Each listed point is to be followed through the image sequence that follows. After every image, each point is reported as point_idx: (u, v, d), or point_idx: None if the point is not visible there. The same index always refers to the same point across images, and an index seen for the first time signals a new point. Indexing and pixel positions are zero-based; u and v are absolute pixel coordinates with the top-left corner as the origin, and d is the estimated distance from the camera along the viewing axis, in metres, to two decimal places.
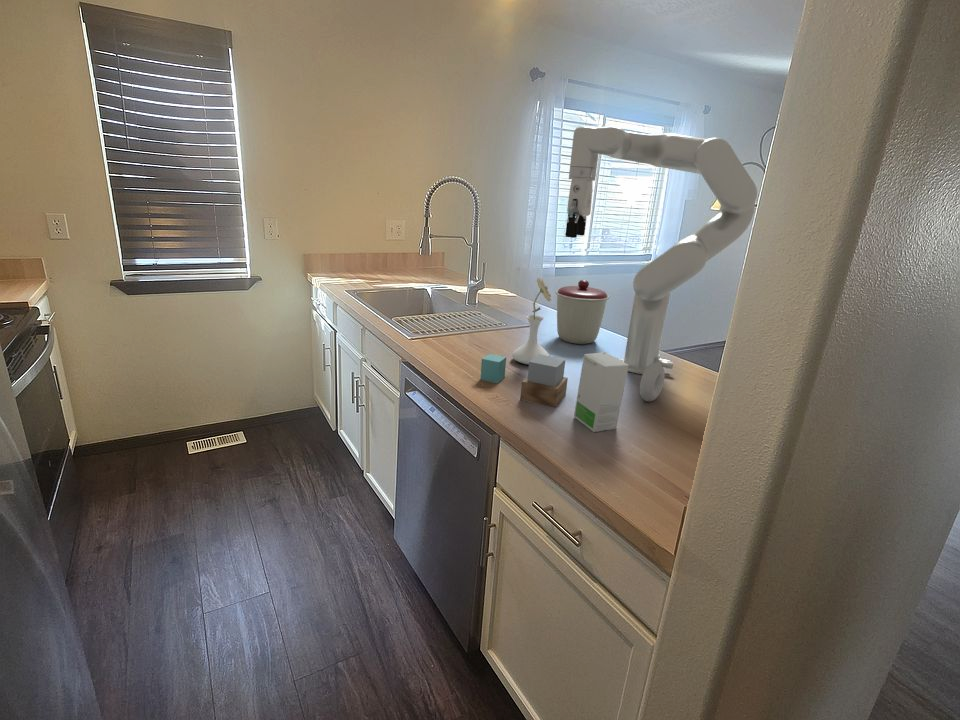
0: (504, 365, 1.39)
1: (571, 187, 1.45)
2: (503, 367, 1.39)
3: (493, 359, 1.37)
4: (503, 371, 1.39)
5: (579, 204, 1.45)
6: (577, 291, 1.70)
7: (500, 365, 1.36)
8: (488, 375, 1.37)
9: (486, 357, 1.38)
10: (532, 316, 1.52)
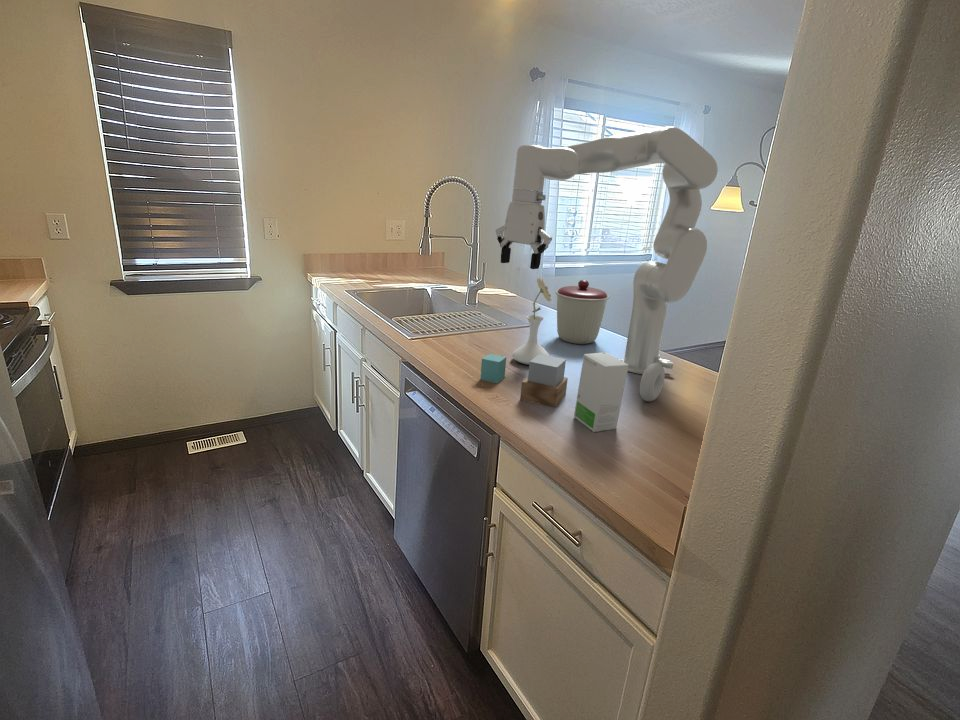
0: (504, 365, 1.39)
1: (536, 214, 1.28)
2: (503, 367, 1.39)
3: (493, 359, 1.37)
4: (503, 371, 1.39)
5: None
6: (577, 291, 1.70)
7: (500, 365, 1.36)
8: (488, 375, 1.37)
9: (486, 357, 1.38)
10: (532, 316, 1.52)
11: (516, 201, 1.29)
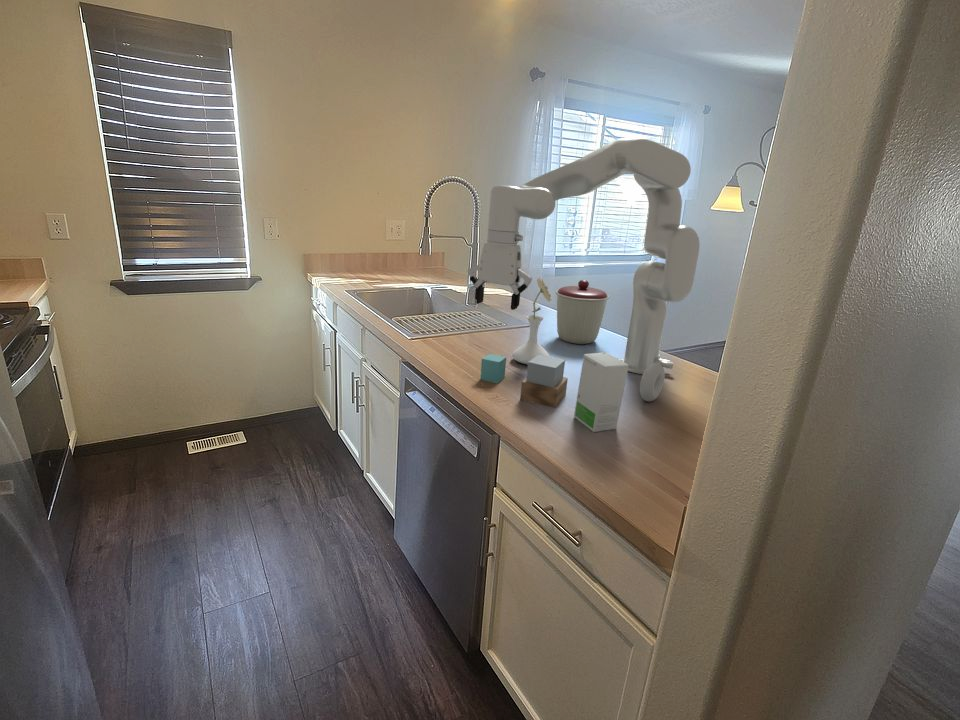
0: (504, 365, 1.39)
1: (515, 255, 1.26)
2: (503, 367, 1.39)
3: (493, 359, 1.37)
4: (503, 371, 1.39)
5: None
6: (577, 291, 1.70)
7: (500, 365, 1.36)
8: (488, 375, 1.37)
9: (486, 357, 1.38)
10: (532, 316, 1.52)
11: (494, 242, 1.25)
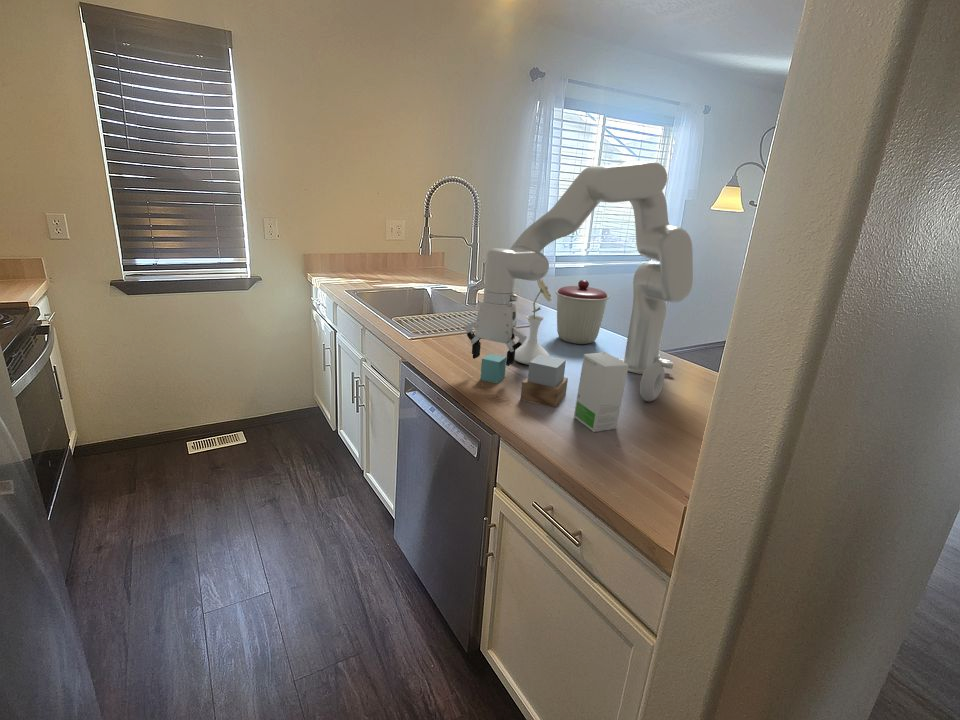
0: (504, 365, 1.39)
1: (510, 315, 1.31)
2: (503, 367, 1.39)
3: (493, 359, 1.37)
4: (503, 371, 1.39)
5: None
6: (577, 291, 1.70)
7: (500, 365, 1.36)
8: (488, 375, 1.37)
9: (486, 357, 1.38)
10: (532, 316, 1.52)
11: (490, 303, 1.30)
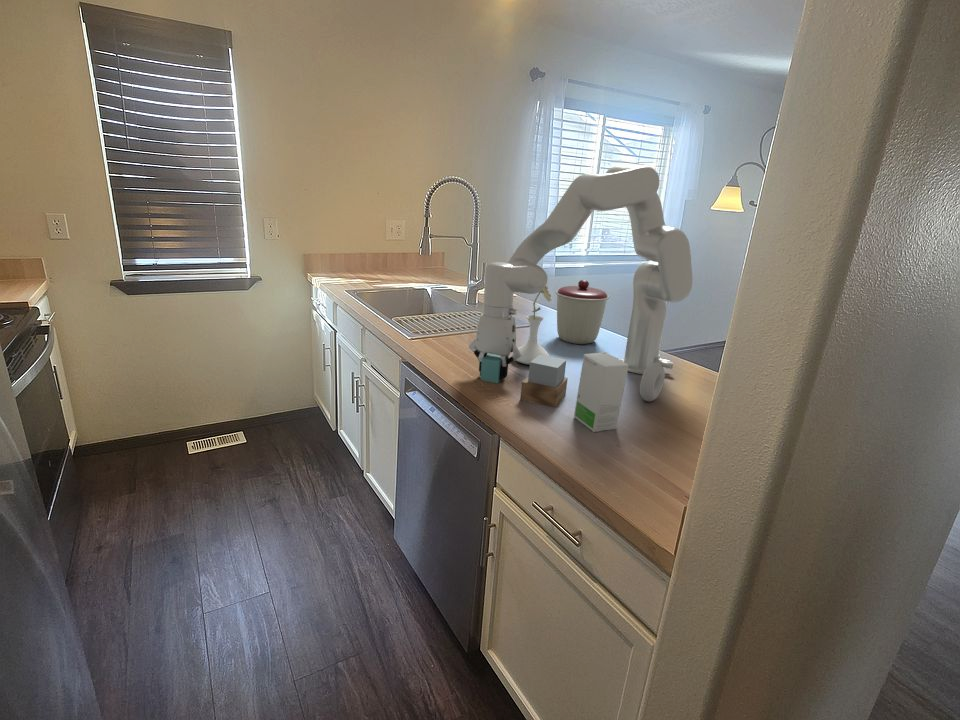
0: None
1: (510, 328, 1.32)
2: None
3: (493, 359, 1.37)
4: None
5: (515, 342, 1.36)
6: (577, 291, 1.70)
7: (500, 364, 1.36)
8: (488, 375, 1.37)
9: (486, 357, 1.38)
10: (532, 316, 1.52)
11: (489, 317, 1.31)
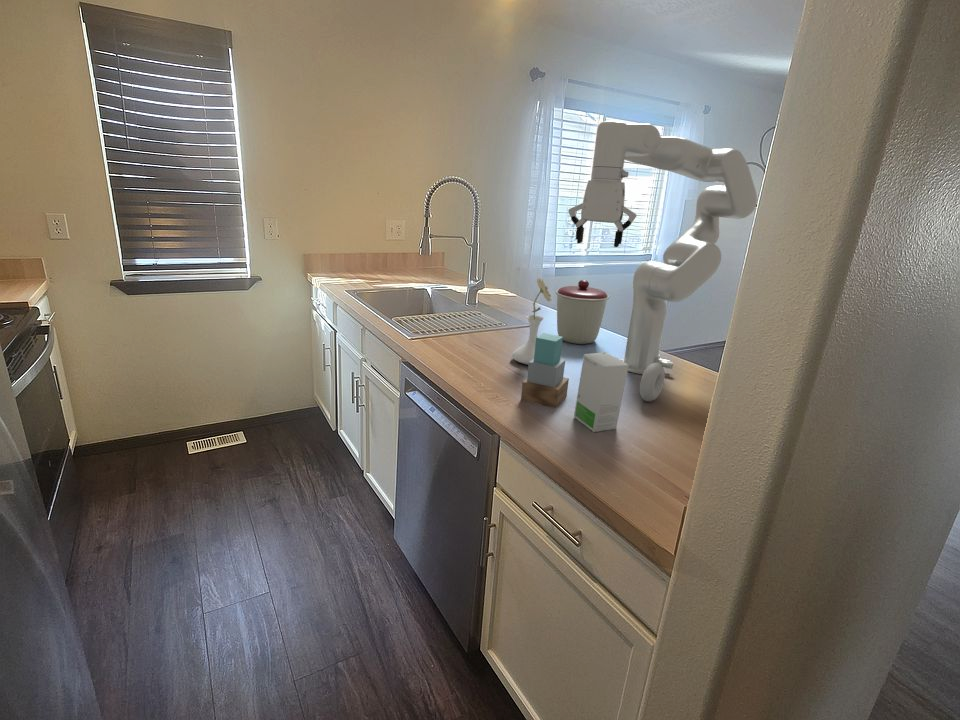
0: (560, 346, 1.25)
1: (621, 191, 1.28)
2: (559, 348, 1.25)
3: (549, 338, 1.23)
4: (559, 352, 1.25)
5: None
6: (577, 291, 1.70)
7: (556, 345, 1.22)
8: (543, 356, 1.23)
9: (541, 336, 1.24)
10: (532, 316, 1.52)
11: (601, 179, 1.27)
